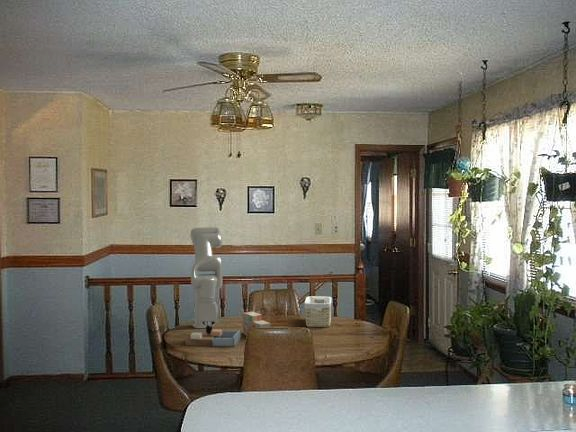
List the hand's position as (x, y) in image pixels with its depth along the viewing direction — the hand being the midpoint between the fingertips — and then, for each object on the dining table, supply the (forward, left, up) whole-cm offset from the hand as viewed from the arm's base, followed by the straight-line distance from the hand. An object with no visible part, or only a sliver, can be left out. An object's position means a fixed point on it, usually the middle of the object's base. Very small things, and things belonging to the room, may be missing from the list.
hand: (209, 333), depth 326 cm
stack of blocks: (-10, +24, -4) cm, 27 cm away
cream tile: (+8, -5, -1) cm, 9 cm away
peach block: (0, +4, -1) cm, 4 cm away
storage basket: (-47, +57, -4) cm, 74 cm away
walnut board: (+4, -3, -4) cm, 6 cm away
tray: (+4, +11, -4) cm, 12 cm away
